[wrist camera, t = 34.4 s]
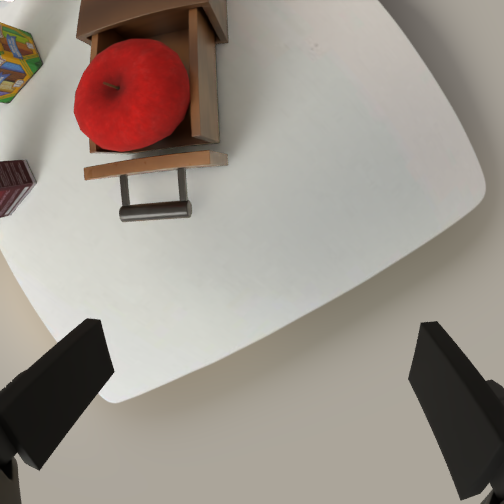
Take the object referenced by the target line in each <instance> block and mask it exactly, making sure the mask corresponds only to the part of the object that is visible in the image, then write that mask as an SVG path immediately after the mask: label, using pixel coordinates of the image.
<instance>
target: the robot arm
mask: <svg viewBox="0 0 504 504" xmlns="http://www.w3.org/2000/svg"><path fill="white" fill-rule="evenodd" d="M113 373H114V368H113V365H112V362H111V358H110V355H109V351H108V347H107V344H106V340H105V336H104V332H103V328H102V324H101V320H98V319H88V318H87V319H85V320H84V321H83V322H82V323H81V324H79V325H78V326H77V327H76V328H75V329H73V330H72V331H71V332H70V333H69V334H68V335H66V336H65V337H64V338H63V339H62V340H61V341H59V342H58V343H57V344H56V345H55V346H54V347H53V348H51V349H50V350H49V351H48V352H47V353H45V354H44V355H43V356H42V357H41V358H40V359H39V360H38V361H36V362H35V363H34V364H33V365H32V366H31V367H30V368H29V369H27V370H25V371H23V372H22V373H20V374H19V375H18V376H16V377H15V378H14V379H13V380H12V382H10V383H9V384H8V385H7V386H6V388H3V389H2V390H1V391H0V504H21V496H20V488H19V478H18V466H17V461H16V459H15V458H14V456H15V454H16V453H18V454H19V455H20V457H21V458H22V460H23V461H24V462H25V463H26V464H28V465H29V466H31V467H33V468H35V469H37V470H40V469H41V468H42V466H43V465H44V463H45V462H46V461H47V460H48V458H49V457H50V455H51V454H52V453H53V451H54V450H55V449H56V447H57V446H58V445H59V443H60V442H61V441H62V439H63V438H64V437H65V435H66V434H67V433H68V431H69V430H70V429H71V428H72V426H73V425H74V423H75V422H76V421H77V420H78V418H79V417H80V416H81V414H82V413H83V412H84V410H85V409H86V408H87V406H88V405H89V404H90V403H91V401H92V400H93V399H94V398H95V396H96V395H97V394H98V392H99V391H100V390H101V389H102V387H103V386H104V385H105V383H106V382H107V381H108V380H109V378H110V377H111V376H112V375H113ZM408 380H409V381H410V384H411V386H412V388H413V390H414V392H415V394H416V396H417V398H418V400H419V402H420V404H421V407H422V409H423V411H424V413H425V415H426V417H427V420H428V422H429V424H430V426H431V428H432V431H433V433H434V435H435V438H436V440H437V442H438V445H439V447H440V449H441V452H442V454H443V456H444V459H445V461H446V463H447V466H448V469H449V471H450V474H451V476H452V479H453V481H454V484H455V487H456V489H457V492H458V494H459V497H460V500H464V499H467V498H469V497H472V496H475V495H477V494H480V493H481V492H482V491H483V490H484V489H485V487H486V486H487V485H488V484H489V482H490V484H491V486H492V488H493V490H492V491H491V492H490V493H489V495H487V497H486V498H485V499H484V500H483V501H482V502H481V504H504V388H503V387H502V386H501V385H499V384H498V383H496V382H495V381H493V380H488V381H485V380H484V378H483V377H482V376H481V375H480V373H479V372H478V370H477V369H476V368H475V367H474V365H473V364H472V363H471V362H470V360H469V359H468V358H467V357H466V355H465V354H464V353H463V352H462V350H461V349H460V348H459V347H458V345H457V344H456V343H455V342H454V341H453V339H452V338H451V337H450V336H449V335H448V333H447V332H446V331H445V330H444V329H443V328H442V326H441V325H440V324H439V323H438V322H437V321H435V322H424V323H421V325H420V330H419V334H418V339H417V344H416V348H415V353H414V358H413V361H412V365H411V370H410V373H409V378H408Z"/></svg>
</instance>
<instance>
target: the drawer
mask: <svg viewBox="0 0 504 504" xmlns="http://www.w3.org/2000/svg"><path fill="white" fill-rule="evenodd" d="M128 39H152V40H156V41H160V42H162V43H164V44H165V45H166V46H168V47H169V48H171V49H172V50H173V51H175V52H176V53H177V54H178V56H179V58H180V59H181V61H182V63H183V65H184V67H185V69H186V70H187V74H188V78H189V83H190V104H189V107H188V110H187V112H186V115H185V118H184V120H183V121H182V122H181V123H180V124H179V125H178V126H177V128H176V129H175V130H174V131H173V133H172V134H171V135H169V136H167V137H165V138H163V139H162V140H160V141H158V142H156V143H154V144H152V145H149V146H146V147H144V148H140V149H135V150H130V151H125V152H119V151H113V150H107V149H102V148H101V147H99V146H98V145H97V144H95V143H94V142H93V141H92V140H91V139H90V138H89V145H90V153H107V154H133V153H140V152H146V151H153V150H160V149H168V148H176V147H184V146H193V145H202V144H213V143H219V142H220V140H219V121H218V101H217V79H216V53H215V30H214V28H213V26H212V24H211V22H210V20H209V18H208V17H207V15H206V13H205V11H204V9H203V7H196V8H191V9H185V10H180V11H175V12H171V13H166V14H162V15H158V16H154V17H150V18H146V19H142V20H138V21H135V22H131V23H128V24H125V25H121V26H118V27H115V28H112V29H109V30H106V31H103V32H100V33H97V34H95V35H92V43H91V57H90V63H91V61H92V60H93V59H94V57H95V56H96V55H97V54H99V53H100V52H102V51H103V50H105V49H106V48H108V47H109V46H111V45H112V44H115V43H118V42H122V41H125V40H128ZM224 165H228V158H227V154H223V153H219V152H215V151H211V150H204V151H194V152H185V153H176V154H168V155H160V156H153V157H146V158H139V159H132V160H126V161H120V162H114V163H108V164H102V165H97V166H91V167H86V168H84V178H85V180H92V179H101V178H110V177H119V176H120V185H121V196H122V207H121V208H120V211H119V216H120V219H121V221H122V222H132V221H146V220H160V219H176V218H190V217H191V214H192V205H191V202H190V201H189V200H188V197H187V184H186V170H185V169H188V168H199V167H211V166H224ZM169 170H178V183H179V196H180V201H171V202H159V203H147V204H137V205H130V200H129V189H128V177H127V176H129V175H136V174H144V173H152V172H160V171H169Z"/></svg>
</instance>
